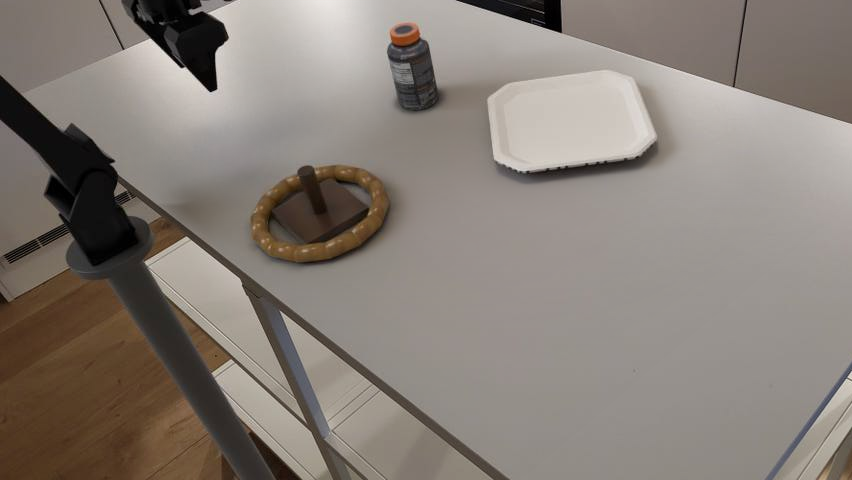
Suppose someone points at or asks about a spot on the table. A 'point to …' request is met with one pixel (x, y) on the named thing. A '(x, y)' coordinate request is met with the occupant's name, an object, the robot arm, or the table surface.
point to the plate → (569, 121)
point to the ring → (332, 246)
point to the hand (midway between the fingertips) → (198, 78)
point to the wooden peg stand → (319, 209)
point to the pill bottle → (411, 67)
